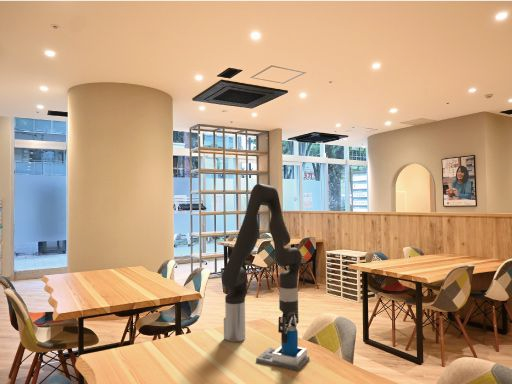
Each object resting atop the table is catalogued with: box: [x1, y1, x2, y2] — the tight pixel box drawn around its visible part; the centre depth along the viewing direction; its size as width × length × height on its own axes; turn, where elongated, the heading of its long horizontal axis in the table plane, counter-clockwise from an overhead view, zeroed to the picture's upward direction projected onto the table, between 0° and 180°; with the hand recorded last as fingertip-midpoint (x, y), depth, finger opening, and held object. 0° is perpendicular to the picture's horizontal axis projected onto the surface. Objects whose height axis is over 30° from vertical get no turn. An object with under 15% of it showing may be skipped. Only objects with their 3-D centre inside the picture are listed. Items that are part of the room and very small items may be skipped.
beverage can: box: [280, 325, 299, 356], centre depth 149 cm, size 6×6×12 cm
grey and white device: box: [255, 345, 310, 372], centre depth 150 cm, size 18×12×4 cm, turn 61°
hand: (288, 339), depth 149 cm, fingers open, 8 cm apart
